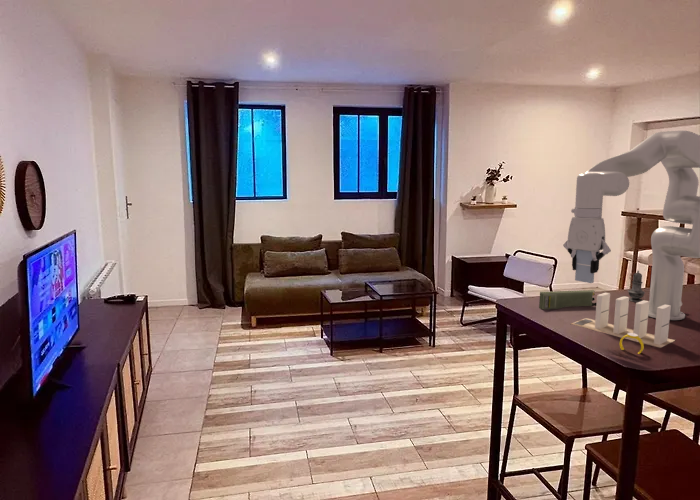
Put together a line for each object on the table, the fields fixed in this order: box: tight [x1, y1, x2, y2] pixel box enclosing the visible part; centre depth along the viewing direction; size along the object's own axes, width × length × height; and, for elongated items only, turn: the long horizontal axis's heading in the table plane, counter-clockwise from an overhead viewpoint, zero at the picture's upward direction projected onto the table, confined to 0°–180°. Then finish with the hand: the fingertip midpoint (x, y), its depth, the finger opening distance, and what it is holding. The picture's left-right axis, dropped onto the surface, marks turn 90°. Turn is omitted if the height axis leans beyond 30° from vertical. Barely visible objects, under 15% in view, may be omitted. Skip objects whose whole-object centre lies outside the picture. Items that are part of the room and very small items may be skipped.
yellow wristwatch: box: [619, 333, 645, 355], centre depth 143 cm, size 6×3×6 cm, turn 45°
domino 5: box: [654, 305, 671, 345], centre depth 149 cm, size 2×5×11 cm, turn 126°
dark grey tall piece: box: [627, 270, 646, 303], centre depth 195 cm, size 6×6×12 cm
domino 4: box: [633, 299, 649, 338], centre depth 153 cm, size 2×5×11 cm, turn 126°
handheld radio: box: [538, 289, 597, 310], centre depth 188 cm, size 7×3×25 cm
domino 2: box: [594, 292, 611, 329], centre depth 163 cm, size 2×5×11 cm, turn 126°
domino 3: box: [613, 296, 630, 334], centre depth 158 cm, size 2×5×11 cm, turn 126°
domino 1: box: [574, 250, 595, 284], centre depth 157 cm, size 2×5×11 cm, turn 36°
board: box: [570, 317, 676, 349], centre depth 159 cm, size 10×28×1 cm, turn 36°
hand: (584, 270), depth 157 cm, fingers closed on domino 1, 5 cm apart
